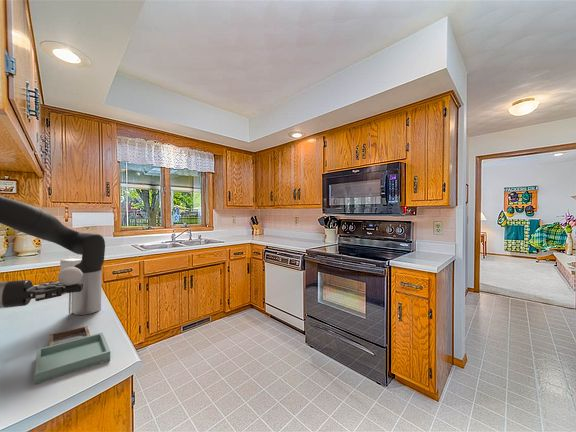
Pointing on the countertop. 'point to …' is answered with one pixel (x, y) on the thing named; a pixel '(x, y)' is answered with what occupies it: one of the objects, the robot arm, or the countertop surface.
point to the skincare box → (69, 263)
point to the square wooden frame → (69, 334)
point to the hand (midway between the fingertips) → (82, 287)
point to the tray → (70, 357)
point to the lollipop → (70, 279)
